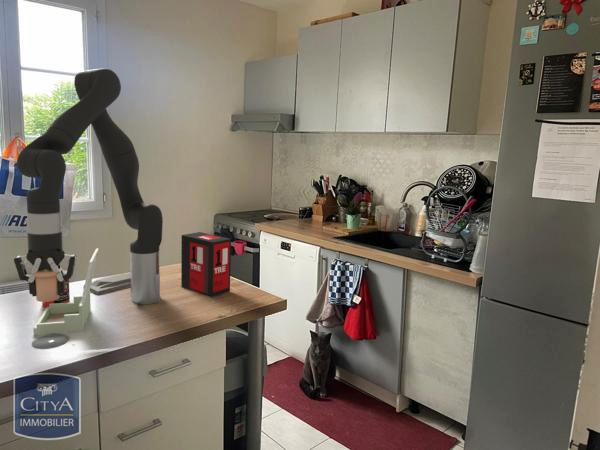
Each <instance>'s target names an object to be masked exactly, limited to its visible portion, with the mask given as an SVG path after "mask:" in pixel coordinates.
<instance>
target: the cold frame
mask: <svg viewBox="0 0 600 450" xmlns="http://www.w3.org/2000/svg"><path fill="white" fill-rule="evenodd" d="M82 296H83V295H74V296H73V301H72V302H70V303H55V304H49V307H47V308H46V307H45V309H44V311H43V312H42V313H41V315H40V317H39V319H38V320H37V321H36V324H35V325H34V326H33V336H39V335H42V336H44V335H49V334H65V333H66V334H68V333H78V332H84V330H85V327H86V324H87V322H88V319H89V316H90V314H91V310H92V309H91V292H90V289H89V291H88V294H87V296H86V299H85V301H84V303H83V304H81V300H82Z"/></svg>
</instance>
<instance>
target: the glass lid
mask: <svg viewBox="0 0 600 450" xmlns="http://www.w3.org/2000/svg"><path fill="white" fill-rule="evenodd" d="M98 253H99V248H95V250H94V252H93V254H92V256H91V258H90V259H89V262H88V268H87V272H86V277H85V282H84V285H85V286H84V285H83V287H84V289H83V290H82V291H83V292H82V295H81V296H82V300H81V304H83V303H84V301H85V299H86V296H87V294H88V291H89V289H90V287H91V283H92V282H93V276H94V272H95V267H96V263H97V257H98Z"/></svg>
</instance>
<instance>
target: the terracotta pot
mask: <svg viewBox="0 0 600 450" xmlns="http://www.w3.org/2000/svg"><path fill="white" fill-rule="evenodd" d="M56 275H58V274H56V272H53V270H46V269H45V270H38V272H36V273H34V276H35V285H36V296H35V300H36V301H37V302H41V303H42V302H49V301H54V300H57V299H59V298H60V296H59V295H58V284H57V282H58V278H57V276H56Z"/></svg>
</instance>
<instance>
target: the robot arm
mask: <svg viewBox="0 0 600 450" xmlns="http://www.w3.org/2000/svg"><path fill="white" fill-rule="evenodd" d="M73 83H74V89H75V93H76V95H77V98H78V100H79V101H77V102H76V103H74V104H73V105H72V106H70V107H69V108H67V109H66V110H65V111H63V112H62V113H61V114H59V115H58V116H57V117H55V119H54V121H53V122H52V123H51V124H50V125H49V126H48V128H47V129H46V131H45V132H44V133H43V134H41V135H39V136H37V138H35V139H34V140H33V141H31V142H30V143H29V144H27V145H25V147H24V148H22V149H21V151H20V152H19V154H18V156H17V159H16V167H17V170H18V172H19V173H20V174H21V175H23V176H24V177H27V178H35V179H41V181H40V183H39V186H38V187H34V188H30V189H29V190H27V192H26V211H27V212H26V214H27V215H26V217H27V218H26V231H27V232H26V235H27V250H28V251H27V253H26V254H25V255H17V256H16V257H15V258H14V259H13V261H14V264H15V268H16V271H17V274H18V277H19V280H20V281H26V282H28V292H29V294H30V295H31V296H32V297H36V285H35V276H34V273H36V272H38V270H45V269H46V270H53V272H56V274H58V275H56V276H57V278H58V282H57V284H58V295H62V293H64V291H65V280H66V279H69V280H70V279H71V278H72V276H73V274H74V271H75V267H76V261H77V257H78V256H77V255H76V254H66V252H65V251H64V249H63V248H64V247H63V246H64V245H63V224H62V223H63V221H62V217H61V206H60V205H61V204H60V195H61V191H62V187H63V182H64V180H65V175H66V170H67V164H66V161H65V158H64V156H63V155H65V154H68V153H70V152H71V151H72V150H73V148H74V147H75V146H76V144H77V143H78V141H79V139H80V138H81V137H82V135H83V134H84V133H85V131H86V130H87V128H89V126H92V129H93V131H94V134H95V136H96V139H97V141H98V143H99V147H100V149H101V153H102V155H103V158H104V161H105V163H106V166H107V168H108V171H109V173H110V175H111V178H112V181H113V184H114V187H115V189H116V192H117V196H118V199H119V202H120V206H121V210H122V215H123V217H124V218H123V219H124V221H125V223H126V224H127V226H128V227H130V228H131V229H133V230H136V231H137V238H136V240H133V241H131V243H130V244H129V258H130V259H129V260H130V261H129V262H130V265H129V266H130V268H129V269H130V273H129V274H131V287H130V301H131V302H132V303H136V305H150V304H154V303H160V302H161V300H160V299H161V297H160V296H161V289H160V288H161V285H160V284H161V283H160V281H161V280H160V278H161V275H160V246H161V244H162V241H163V222H164V221H163V220H164V217H163V214H162V210H161V208H160V207H159V206H157V205H155V204H151V203H146V202H145V201H144V199H143V197H142V195H141V193H140V189H139V184H138V181H139V175H140V173H139V172H140V161H139V157H138V155H137V152H136V148H135V145H134V144H133V141H132V140H131V139H130V137H129V136H128V135H127V134H126V133H125V132H124V131H123V130H122V129H121V128H120V126H118V125H117V124H116V123H115V121H114V120H113V119H112V118H111V116H110V114H109V112H108V111H107V108H108V107H109V106H111V105H112V104H113V103H114V102H115V101H116V100H117V99H118V98H119V96H120V94H121V89H122V85H121V81H120V78H119V76H118V75H117V73H115V72H114V71H113V70H112V69H110V68H105V67H103V68H94V69H88V70H81V71H79V72H77V73H76V75H75V76H74V81H73ZM63 260H65V262H66V264H68V266H67V273H66V274H64V272H63V270H64V269H63V268H62V264H61V263H62V261H63ZM27 261H28V262H29V263H30V264H31V265H32V269H31V271H30V274H28V272H27V267H26V263H27Z"/></svg>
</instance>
